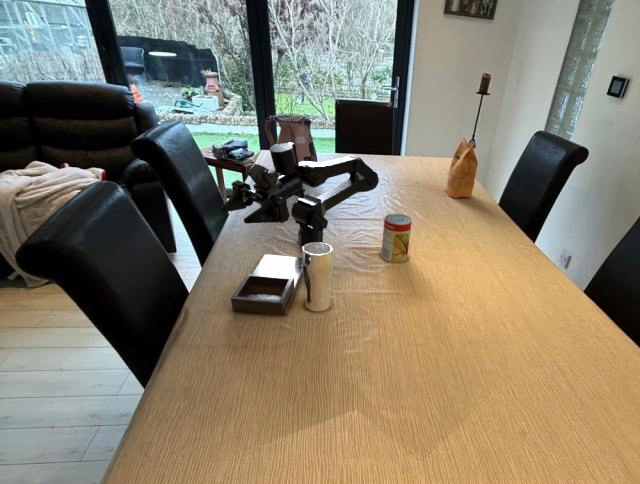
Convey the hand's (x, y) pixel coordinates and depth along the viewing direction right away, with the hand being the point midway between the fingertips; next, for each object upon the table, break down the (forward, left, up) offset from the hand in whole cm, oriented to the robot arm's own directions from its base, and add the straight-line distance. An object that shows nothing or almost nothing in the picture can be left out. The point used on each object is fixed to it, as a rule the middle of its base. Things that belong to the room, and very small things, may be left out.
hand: (232, 215), depth 101 cm
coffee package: (-101, -33, -16) cm, 107 cm away
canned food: (-44, +7, -16) cm, 47 cm away
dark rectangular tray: (-6, +9, -16) cm, 19 cm away
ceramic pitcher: (-40, -69, -16) cm, 81 cm away
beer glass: (-13, +22, -16) cm, 30 cm away
